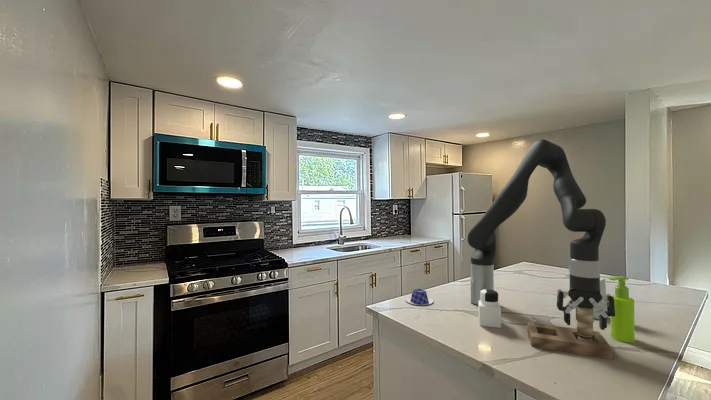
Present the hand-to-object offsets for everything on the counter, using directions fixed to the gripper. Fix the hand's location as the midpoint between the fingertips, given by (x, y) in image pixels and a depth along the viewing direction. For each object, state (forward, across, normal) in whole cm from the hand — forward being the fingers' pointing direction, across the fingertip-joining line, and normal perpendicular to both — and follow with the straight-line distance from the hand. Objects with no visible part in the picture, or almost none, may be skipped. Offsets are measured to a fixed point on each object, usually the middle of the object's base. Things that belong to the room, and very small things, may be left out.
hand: (584, 326), depth 94 cm
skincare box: (+6, +9, +31) cm, 33 cm away
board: (+6, -5, 0) cm, 8 cm away
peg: (+6, 0, 0) cm, 6 cm away
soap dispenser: (+6, +12, +11) cm, 17 cm away
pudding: (+7, -56, +22) cm, 61 cm away
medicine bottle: (+6, -27, +8) cm, 29 cm away
